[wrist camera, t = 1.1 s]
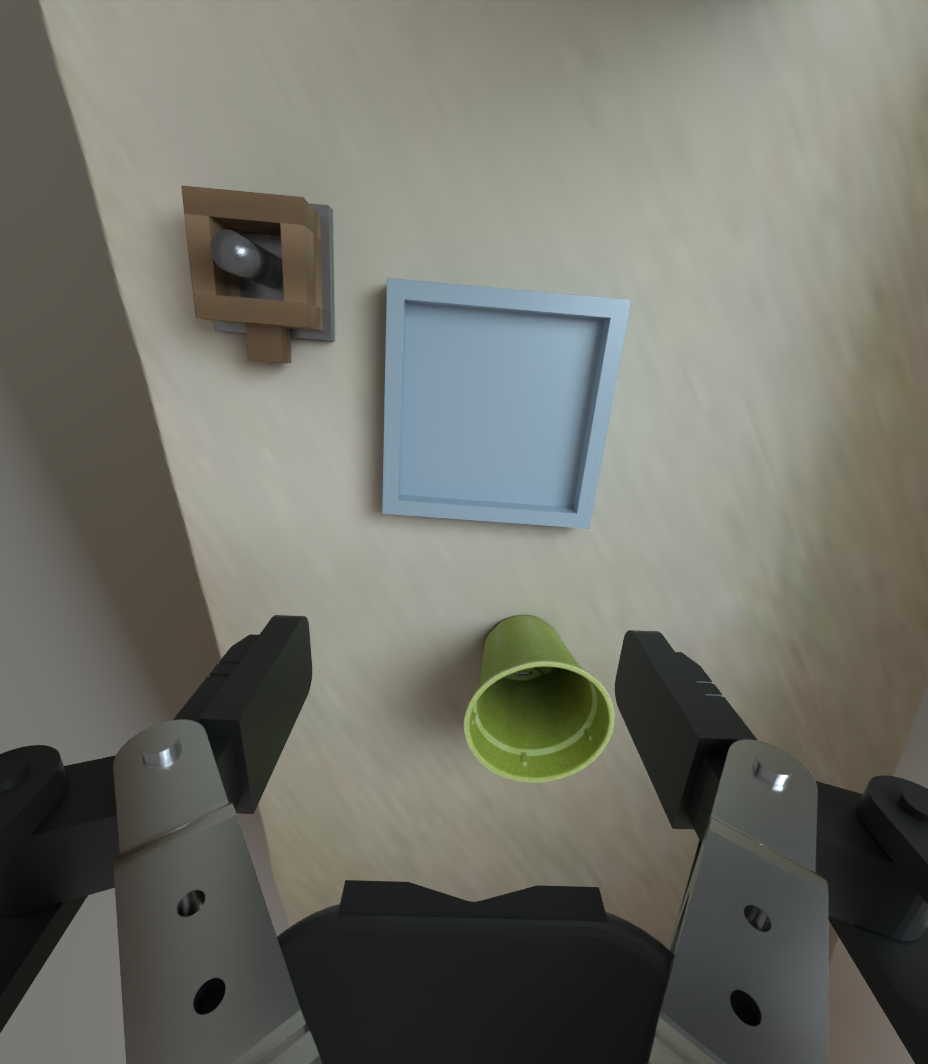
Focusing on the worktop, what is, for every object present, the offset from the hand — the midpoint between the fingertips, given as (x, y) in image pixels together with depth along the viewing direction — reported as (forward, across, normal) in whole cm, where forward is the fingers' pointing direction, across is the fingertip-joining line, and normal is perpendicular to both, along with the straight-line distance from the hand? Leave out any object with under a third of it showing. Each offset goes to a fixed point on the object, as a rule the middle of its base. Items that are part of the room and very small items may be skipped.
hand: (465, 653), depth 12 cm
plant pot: (+22, -5, +14) cm, 26 cm away
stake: (+22, +12, -11) cm, 27 cm away
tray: (+22, -2, -4) cm, 22 cm away
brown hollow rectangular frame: (+21, +12, -11) cm, 26 cm away
